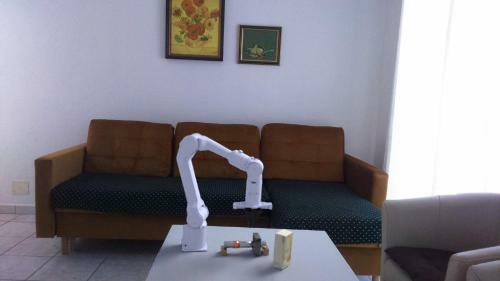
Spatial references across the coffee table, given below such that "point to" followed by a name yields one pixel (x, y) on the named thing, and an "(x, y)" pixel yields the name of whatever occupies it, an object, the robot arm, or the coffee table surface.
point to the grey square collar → (257, 244)
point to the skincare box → (282, 249)
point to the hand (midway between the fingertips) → (251, 226)
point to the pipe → (243, 246)
